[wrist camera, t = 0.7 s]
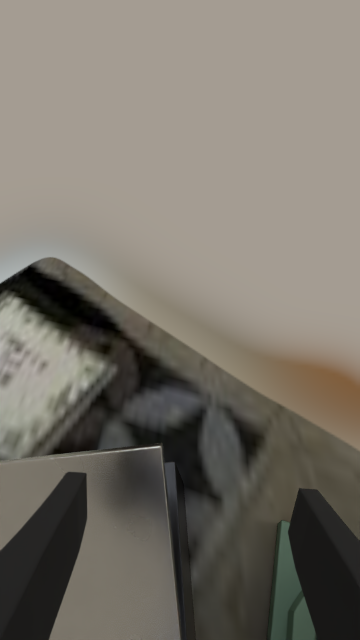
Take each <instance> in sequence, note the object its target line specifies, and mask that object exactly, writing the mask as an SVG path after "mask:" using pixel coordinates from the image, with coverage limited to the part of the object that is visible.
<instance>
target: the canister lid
mask: <svg viewBox="0 0 360 640" xmlns="http://www.w3.org/2000/svg"><path fill="white" fill-rule="evenodd" d="M67 472H82V473H87V522H86V526H85V530H84V535H83V539H82V543H81V547H80V551H79V554H78V557H77V560H76V563H75V566H74V569H73V571H72V574H71V577H70V580H69V583H68V586H67V589H66V592H65V595H64V597H63V600H62V603H61V606H60V609H59V612H58V615H57V617H56V620H55V623H54V626H53V629H52V632H51V635H50V638H49V640H182V630H181V620H180V611H179V601H178V591H177V581H176V571H175V561H174V551H173V541H172V531H171V521H170V512H169V502H168V492H167V482H166V472H165V462H164V452H163V444H162V443H158V444H149V445H140V446H131V447H122V448H113V449H103V450H94V451H85V452H76V453H67V454H58V455H49V456H40V457H31V458H21V459H12V460H3V461H0V550H1V549H2V548H3V547H4V546H5V545H6V544H7V543H8V542H9V541H10V540H11V539H12V538H13V537H14V536H15V535H16V533H17V532H18V531H19V530H20V529H21V528H22V527H23V526H24V525H25V523H26V522H27V521H28V520H29V519H30V518H31V516H32V515H33V514H34V513H35V512H36V511H37V509H38V508H39V507H40V506H41V505H42V503H43V502H44V501H45V500H46V498H47V497H48V496H49V495H50V493H51V492H52V491H53V490H54V488H55V487H56V486H57V484H58V483H59V482H60V480H61V479H62V478H63V476H64V475H65V474H66V473H67Z"/></svg>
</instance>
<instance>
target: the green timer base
mask: <svg viewBox="0 0 360 640" xmlns="http://www.w3.org/2000/svg"><path fill="white" fill-rule="evenodd" d="M289 526H290V522H286V521H283V520H281V521H280V522H279V523H278V528H277V538H276V549H275V559H274V569H273V580H272V590H271V601H270V611H269V622H268V632H267V640H318V638H317V635H316V632H315V629H314V626H313V623H312V619H311V616H310V613H309V610H308V607H307V604H306V601H305V598H304V594H303V591H302V588H301V585H300V582H299V578H298V575H297V572H296V569H295V565H294V560H293V556H292V551H291V546H290V541H289V536H288V530H289Z"/></svg>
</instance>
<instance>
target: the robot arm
mask: <svg viewBox="0 0 360 640" xmlns="http://www.w3.org/2000/svg"><path fill="white" fill-rule="evenodd" d="M86 522H87V473H82V472H67V473H66V474H65V475H64V476H63V478H62V479H61V480H60V482H59V483H58V484H57V486H56V487H55V488H54V490H53V491H52V492H51V493H50V495H49V496H48V497H47V498H46V500H45V501H44V502H43V503H42V505H41V506H40V507H39V508H38V509H37V511H36V512H35V513H34V514H33V515H32V516H31V518H30V519H29V520H28V521H27V522H26V523H25V525H24V526H23V527H22V528H21V529H20V530H19V531H18V532H17V533H16V535H15V536H14V537H13V538H12V539H11V540H10V541H9V542H8V543H7V544H6V545H5V546H4V547H3V548H2V549H1V550H0V640H49V638H50V635H51V632H52V629H53V626H54V623H55V620H56V617H57V615H58V612H59V609H60V606H61V603H62V600H63V597H64V595H65V592H66V589H67V586H68V583H69V580H70V577H71V574H72V571H73V569H74V566H75V563H76V560H77V557H78V554H79V551H80V547H81V543H82V539H83V535H84V530H85V526H86ZM288 536H289V541H290V546H291V551H292V556H293V560H294V565H295V569H296V572H297V575H298V578H299V582H300V585H301V588H302V591H303V594H304V598H305V601H306V604H307V607H308V610H309V613H310V616H311V619H312V623H313V626H314V629H315V632H316V635H317V638H318V640H360V541H359V540H358V539H357V537H356V536H355V535H354V534H353V533H352V532H351V530H350V529H349V528H348V527H347V526H346V524H345V523H344V522H343V521H342V519H341V518H340V517H339V516H338V515H337V513H336V512H335V511H334V510H333V508H332V507H331V506H330V505H329V504H328V502H327V501H326V500H325V499H324V497H323V496H322V495H321V494H320V493H319V491H318V490H315V489H301V488H299V491H298V495H297V499H296V503H295V507H294V510H293V514H292V518H291V522H290V526H289V530H288Z"/></svg>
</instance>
